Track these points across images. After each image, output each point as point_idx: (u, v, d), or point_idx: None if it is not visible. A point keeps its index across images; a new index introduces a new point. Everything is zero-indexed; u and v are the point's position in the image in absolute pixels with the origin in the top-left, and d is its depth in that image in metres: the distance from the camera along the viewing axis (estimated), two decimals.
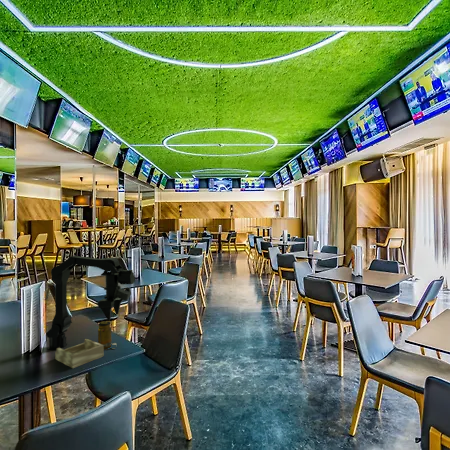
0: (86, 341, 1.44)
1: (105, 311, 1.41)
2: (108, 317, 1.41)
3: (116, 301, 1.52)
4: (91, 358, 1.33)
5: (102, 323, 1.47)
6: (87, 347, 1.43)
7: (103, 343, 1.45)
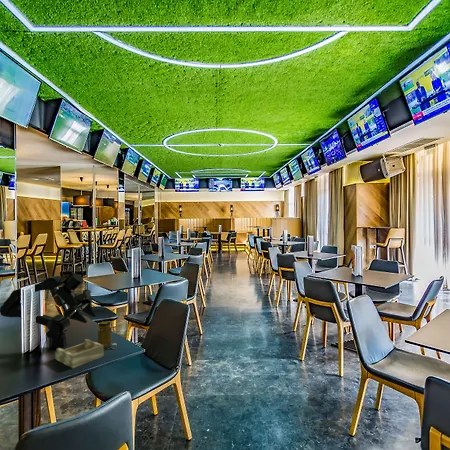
0: (86, 341, 1.44)
1: (77, 318, 1.42)
2: (83, 320, 1.43)
3: (86, 307, 1.53)
4: (91, 358, 1.33)
5: (102, 323, 1.47)
6: (87, 347, 1.43)
7: (103, 343, 1.45)
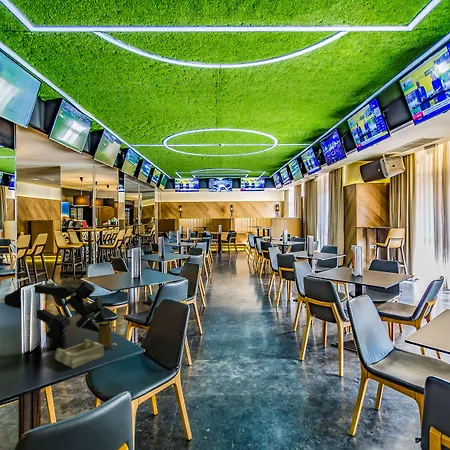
0: (86, 341, 1.44)
1: (89, 327, 1.42)
2: (96, 329, 1.43)
3: (98, 316, 1.53)
4: (91, 358, 1.33)
5: (102, 323, 1.47)
6: (87, 347, 1.43)
7: (103, 343, 1.45)
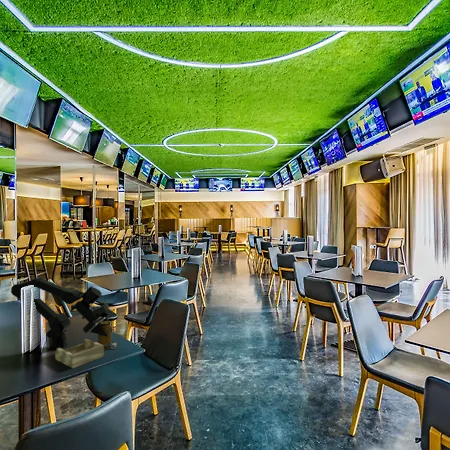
0: (86, 341, 1.44)
1: (97, 331, 1.43)
2: (104, 333, 1.44)
3: None
4: (91, 358, 1.33)
5: (102, 323, 1.47)
6: (87, 347, 1.43)
7: (103, 343, 1.45)
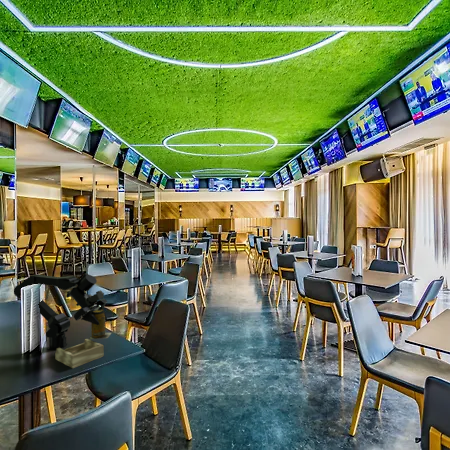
0: (86, 341, 1.44)
1: (89, 319, 1.40)
2: (95, 322, 1.40)
3: None
4: (91, 358, 1.33)
5: (95, 311, 1.43)
6: (87, 347, 1.43)
7: (95, 332, 1.41)
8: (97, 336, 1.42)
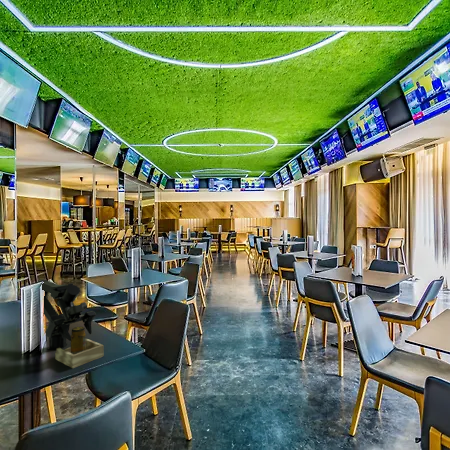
0: (86, 341, 1.44)
1: (63, 333, 1.33)
2: (67, 337, 1.32)
3: (86, 322, 1.42)
4: (91, 358, 1.33)
5: (75, 328, 1.36)
6: (87, 347, 1.43)
7: (72, 350, 1.34)
8: None
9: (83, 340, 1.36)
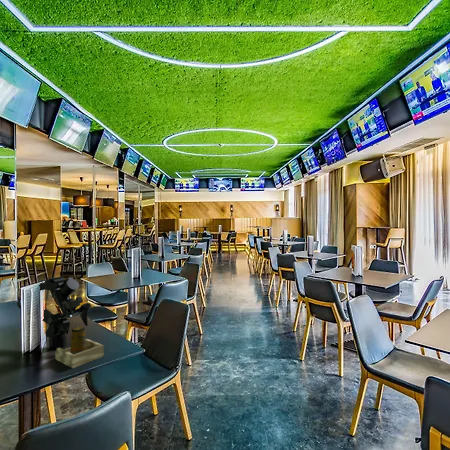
0: (86, 341, 1.44)
1: (60, 327, 1.38)
2: (64, 331, 1.38)
3: (82, 314, 1.47)
4: (91, 358, 1.33)
5: (75, 328, 1.36)
6: (87, 347, 1.43)
7: (72, 350, 1.34)
8: None
9: (83, 340, 1.36)
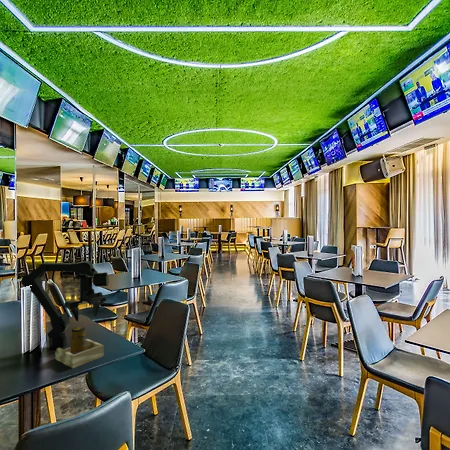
0: (86, 341, 1.44)
1: (73, 312, 1.46)
2: (75, 318, 1.46)
3: (95, 304, 1.54)
4: (91, 358, 1.33)
5: (75, 328, 1.36)
6: (87, 347, 1.43)
7: (72, 350, 1.34)
8: None
9: (83, 340, 1.36)
